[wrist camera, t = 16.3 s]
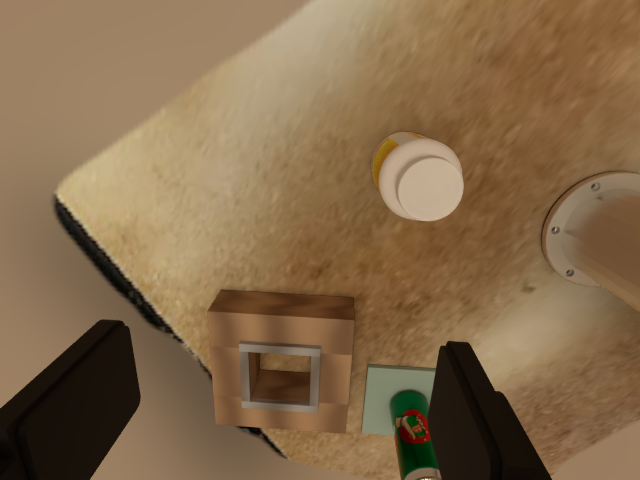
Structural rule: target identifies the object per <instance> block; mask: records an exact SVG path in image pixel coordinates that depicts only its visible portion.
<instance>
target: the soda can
mask: <svg viewBox="0 0 640 480" xmlns="http://www.w3.org/2000/svg"><path fill="white" fill-rule="evenodd" d="M428 411H429V403H428V401H427V399H426V398H425V397H424V396H422V395H421V394H418V393H416V392H410V391H409V392H403V393H400V394H398V395H397V396H396V397H394V399H393V400H392V401H391V403H390V415H391V421H392V427H393V433H394V440H395V446H396V452H397V458H398V464H399V470H400V476H401V480H442V479H441V475H440V471H439V467H438V464H437V460H436V456H435V453H434V449H433V445H432V441H431V438H430V434H429V430H428V422H427V418H428Z"/></svg>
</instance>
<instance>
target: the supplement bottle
mask: <svg viewBox="0 0 640 480" xmlns="http://www.w3.org/2000/svg"><path fill="white" fill-rule="evenodd" d="M371 174H372V177H373V180H374V182H375V184H376V186H377V188H378V190H379V193H380V195H381V197H382V199H383V200H384V202H385V204H386V205H387V206H388V207H389V209H390V210H392V211H393V212H394V213H395V214H397V215H399V216H401V217H403V218H406V219H410V220H420V221H435V220H439V219H441V218H444V217H446V216H447V215H449V214H450V213H451V212H452V211H453V210H454V209H455V208H456V207H457V205H458V204H459V202H460V200H461V198H462V195H463V189H464V184H463V179H462V168H461V165H460V162H459V160H458V158H457V156H456V155H455V153H454V152H453V151H452V150H451V149H450V148H449V147H448V146H446V145H445V144H443V143H441V142H439V141H436V140H433V139H430V138H427V137H425V136H422V135H420V134H417V133H413V132H398V133H394V134H392V135H390V136H388V137H386V138H385V139H384V140H382V141H381V142H380V143H379V145H378V146H377V147H376V149H375V151H374V153H373V155H372V159H371Z"/></svg>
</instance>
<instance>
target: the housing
mask: <svg viewBox="0 0 640 480" xmlns="http://www.w3.org/2000/svg"><path fill="white" fill-rule="evenodd" d="M207 316H208V328H209V341H210V354H211V366H212V379H213V392H214V404H215V415H216V416H215V417H216V424H220V425H233V426H247V427H261V428H274V429H288V430H302V431H316V432H329V433H343V434H346V424H347V412H348V399H349V387H350V374H351V362H352V349H353V337H354V324H355V315H354V299H353V297H336V296H319V295H302V294H285V293H268V292H251V291H234V290H221V291H220V292H219V294H218V295H217V297H216V299H215V300H214V302H213V303H212V305H211V306H210V308H209V309H208V311H207ZM259 353H270V354H286V355H301V356H311V373H302V372H287V371H272V370H260V354H259Z"/></svg>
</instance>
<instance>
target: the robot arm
mask: <svg viewBox="0 0 640 480" xmlns="http://www.w3.org/2000/svg"><path fill="white" fill-rule="evenodd" d="M552 228H553V229H552ZM542 247H543V252H544V255H545V258H546V260H547V261H548V263H549V265H550V266H551V267H552V268H553V269H554V270H555V271H556V272H557V273H558V274H559V275H561V276H562V277H563V278H565V279H566V280H568V281H571V282H573V283H575V284H579V285H583V286H593V287H599V286H602V287H604V288H605V289H607V290H608V291H609V292H611V293H612V294H614V295H615V296H617V297H618V298H620V299H621V300H622V301H624V302H625V303H627V304H628V305H630V306H631V307H632V308H634V309H635V310H637V311H638V312H640V174H636V173H631V172H620V171H615V172H608V173H602V174H599V175H596V176H592V177H590V178H588V179H586V180H584V181H582V182H580V183H578V184H577V185H575V186H574V187H572V188H571V189H569V190H568V191H567V192H566V193H565V194H564V195H563V196H562V197H561V198H560V199H559V200H558V201H557V202H556V204H555V205H554V206H553V208H552V209H551V211H550V213H549V215H548V217H547V219H546V221H545V224H544V228H543V233H542ZM140 398H141V397H140V390H139V383H138V378H137V372H136V365H135V359H134V353H133V347H132V342H131V335H130V330H129V328H128V326H125V324H124V323H123V321H120V320H100V321H98V322H97V323H96V324H95V325H94V326H93V327H92V328H90V329H89V330H88V331H87V332H86V333H85V334H84V335H83V336H81V337H80V338H79V339H78V340H77V341H76V342H75V343H73V344H72V345H71V346H70V347H69V348H68V349H67V350H66V351H64V352H63V353H62V354H61V355H60V356H59V357H58V358H57V359H55V360H54V361H53V362H52V363H51V364H50V365H49V366H48V367H47V368H46V369H44V370H43V371H42V372H41V373H40V374H39V375H37V376H36V377H35V378H34V379H33V380H32V381H31V382H30V383H29V384H27V385H26V386H25V387H24V388H23V389H22V390H21V391H20V392H18V393H17V394H16V395H15V396H14V397H13V398H12V399H11V400H9V401H8V402H7V403H6V404H5V405H4V406H3V407H2V408H0V480H90V479H91V477H92V476H93V474H94V472H95V471H96V469H97V468H98V467H99V465H100V464H101V462H102V460H103V459H104V458H105V456H106V455H107V453H108V452H109V450H110V449H111V447H112V446H113V444H114V443H115V441H116V440H117V438H118V437H119V435H120V434H121V432H122V431H123V429H124V428H125V426H126V425H127V423H128V422H129V420H130V419H131V417H132V416H133V414H134V413H135V412H136V410H137V408H138V406H139V403H140ZM427 422H428V430H429V434H430V438H431V441H432V445H433V449H434V453H435V456H436V460H437V464H438V467H439V471H440V475H441V479H442V480H552V479H551V477H550V475H549V473H548V472H547V470H546V468H545V466H544V464H543V463H542V461H541V459H540V457H539V456H538V454H537V452H536V450H535V448H534V447H533V445H532V443H531V441H530V440H529V438H528V436H527V434H526V432H525V431H524V429H523V427H522V425H521V424H520V422H519V420H518V418H517V416H516V415H515V413H514V411H513V409H512V408H511V406H510V404H509V402H508V400H507V399H506V397H505V396H504V394H503V393H501V392H500V391H495V390H494V388H493V386H492V384H491V382H490V381H489V379H488V377H487V375H486V373H485V371H484V369H483V368H482V366H481V364H480V362H479V360H478V358H477V356H476V355H475V353H474V351H473V349H472V347H471V345H470V344H469V343H468V342H455V341H448V342H447V344H446V346H441V347H440V350H439V355H438V360H437V366H436V372H435V377H434V383H433V389H432V394H431V400H430V406H429V411H428V418H427Z"/></svg>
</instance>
